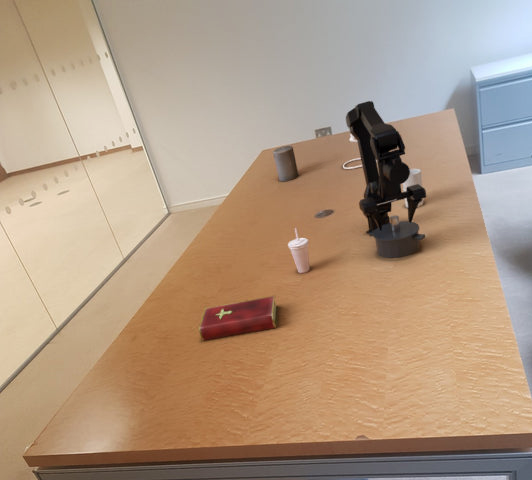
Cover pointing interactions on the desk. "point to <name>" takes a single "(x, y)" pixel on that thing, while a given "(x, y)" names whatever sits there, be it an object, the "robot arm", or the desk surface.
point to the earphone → (353, 159)
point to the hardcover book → (238, 318)
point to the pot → (398, 246)
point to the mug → (413, 182)
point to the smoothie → (300, 253)
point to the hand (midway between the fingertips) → (395, 226)
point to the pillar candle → (285, 163)
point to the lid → (396, 230)
